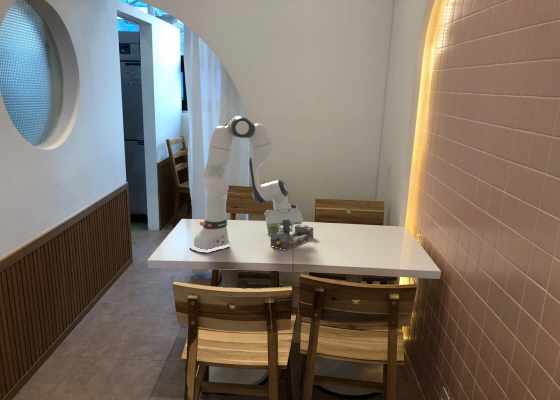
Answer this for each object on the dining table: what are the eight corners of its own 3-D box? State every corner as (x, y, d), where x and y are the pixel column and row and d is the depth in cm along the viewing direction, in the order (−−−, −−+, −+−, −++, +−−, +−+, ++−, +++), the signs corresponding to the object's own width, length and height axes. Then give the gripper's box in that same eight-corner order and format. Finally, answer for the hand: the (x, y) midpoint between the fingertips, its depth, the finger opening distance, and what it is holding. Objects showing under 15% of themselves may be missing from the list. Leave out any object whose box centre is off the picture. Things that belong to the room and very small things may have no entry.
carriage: (286, 244, 245) (287, 222, 242) (279, 242, 247) (279, 221, 245) (293, 241, 249) (293, 220, 246) (285, 239, 252) (285, 218, 249)
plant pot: (281, 236, 263) (281, 222, 261) (264, 236, 263) (264, 222, 261) (281, 232, 272) (281, 217, 270) (265, 231, 272) (265, 217, 270)
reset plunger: (279, 245, 241) (279, 241, 241) (275, 244, 242) (275, 240, 242) (284, 242, 245) (284, 239, 245) (281, 242, 246) (281, 238, 246)
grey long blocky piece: (285, 250, 240) (286, 235, 238) (270, 246, 246) (270, 231, 244) (313, 237, 261) (313, 223, 259) (298, 234, 267) (298, 220, 265)
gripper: (264, 207, 248) (268, 230, 241) (300, 205, 253) (305, 227, 246) (262, 213, 253) (266, 235, 246) (298, 211, 258) (303, 233, 251)
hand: (286, 231), depth 246 cm, fingers open, 4 cm apart
